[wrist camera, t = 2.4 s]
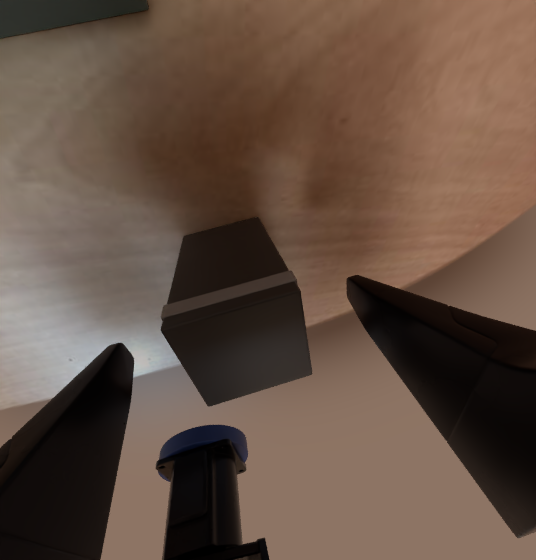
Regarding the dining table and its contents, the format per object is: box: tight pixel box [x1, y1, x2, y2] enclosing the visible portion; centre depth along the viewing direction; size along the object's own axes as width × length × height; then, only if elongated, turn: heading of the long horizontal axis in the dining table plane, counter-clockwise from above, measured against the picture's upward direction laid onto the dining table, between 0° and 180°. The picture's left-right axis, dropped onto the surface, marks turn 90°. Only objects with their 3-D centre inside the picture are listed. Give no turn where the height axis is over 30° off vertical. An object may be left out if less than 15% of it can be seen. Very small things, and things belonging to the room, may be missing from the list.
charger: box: [161, 217, 312, 406], centre depth 11 cm, size 4×4×7 cm
